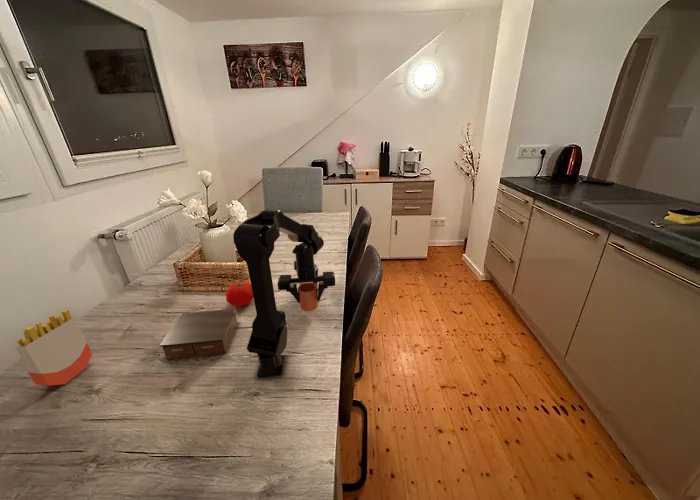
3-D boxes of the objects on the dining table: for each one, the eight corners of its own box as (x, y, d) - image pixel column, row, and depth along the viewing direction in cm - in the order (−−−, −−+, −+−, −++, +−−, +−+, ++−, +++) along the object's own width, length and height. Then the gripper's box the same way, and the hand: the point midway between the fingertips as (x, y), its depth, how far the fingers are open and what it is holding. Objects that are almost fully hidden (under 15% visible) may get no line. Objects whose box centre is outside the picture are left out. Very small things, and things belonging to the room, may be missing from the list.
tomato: (224, 303, 105) (220, 283, 101) (251, 293, 111) (247, 274, 107) (233, 314, 98) (228, 294, 95) (261, 303, 104) (257, 283, 101)
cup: (318, 310, 95) (317, 291, 92) (299, 312, 95) (297, 293, 92) (318, 299, 101) (316, 281, 98) (300, 301, 100) (298, 283, 97)
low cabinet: (226, 355, 80) (222, 340, 78) (164, 361, 78) (158, 346, 76) (239, 322, 94) (236, 308, 92) (186, 327, 92) (182, 313, 90)
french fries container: (38, 390, 71) (1, 333, 63) (82, 358, 80) (54, 306, 73) (53, 392, 70) (17, 335, 63) (96, 360, 80) (69, 307, 73)
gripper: (332, 249, 99) (334, 287, 105) (278, 253, 97) (284, 291, 104) (334, 263, 89) (336, 304, 95) (274, 267, 87) (280, 309, 93)
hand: (309, 301), depth 97 cm, fingers closed on cup, 6 cm apart
